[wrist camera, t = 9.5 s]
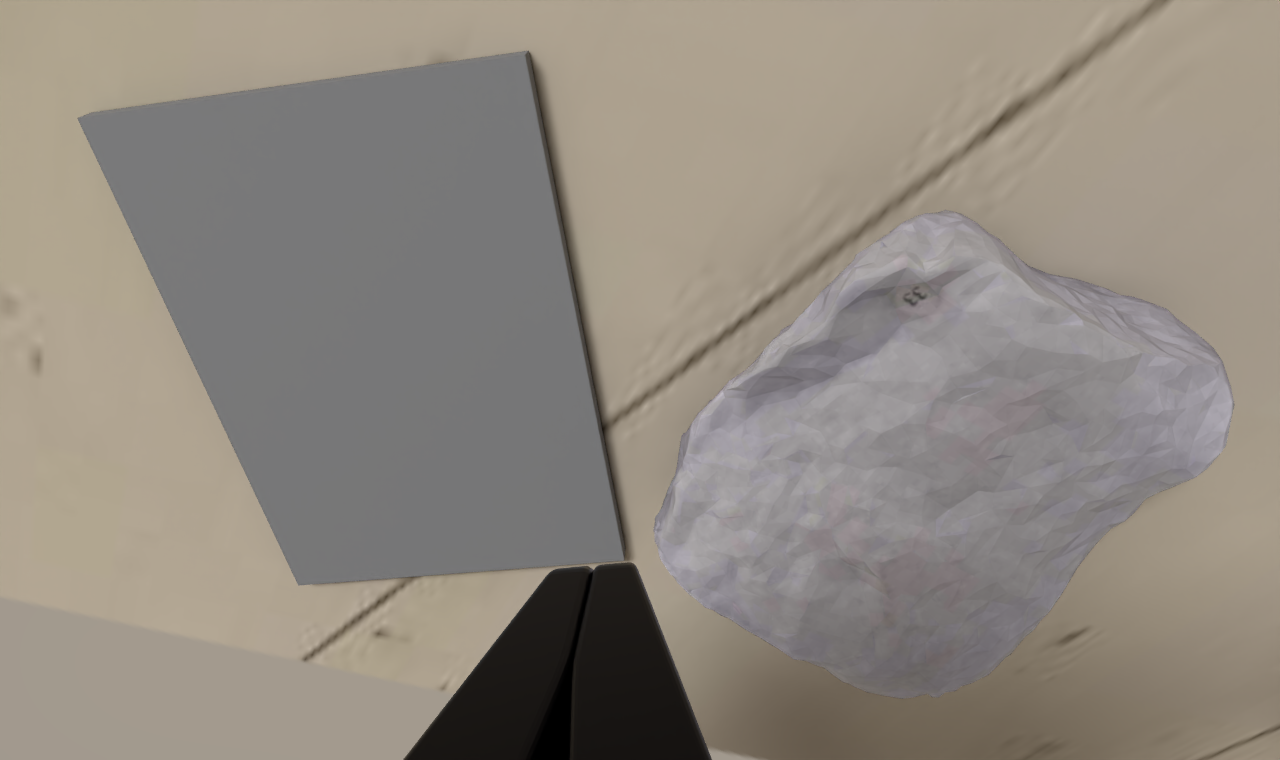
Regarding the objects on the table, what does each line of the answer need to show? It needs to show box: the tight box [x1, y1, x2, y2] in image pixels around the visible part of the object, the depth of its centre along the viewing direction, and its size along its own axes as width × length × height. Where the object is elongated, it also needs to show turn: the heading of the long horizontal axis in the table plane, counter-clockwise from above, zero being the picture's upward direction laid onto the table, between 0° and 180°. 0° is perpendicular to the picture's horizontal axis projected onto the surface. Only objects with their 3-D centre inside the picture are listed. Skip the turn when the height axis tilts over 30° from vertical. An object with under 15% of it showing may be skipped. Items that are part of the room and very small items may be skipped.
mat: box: [78, 51, 625, 585], centre depth 21 cm, size 10×14×1 cm
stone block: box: [654, 210, 1234, 699], centre depth 21 cm, size 12×5×10 cm
